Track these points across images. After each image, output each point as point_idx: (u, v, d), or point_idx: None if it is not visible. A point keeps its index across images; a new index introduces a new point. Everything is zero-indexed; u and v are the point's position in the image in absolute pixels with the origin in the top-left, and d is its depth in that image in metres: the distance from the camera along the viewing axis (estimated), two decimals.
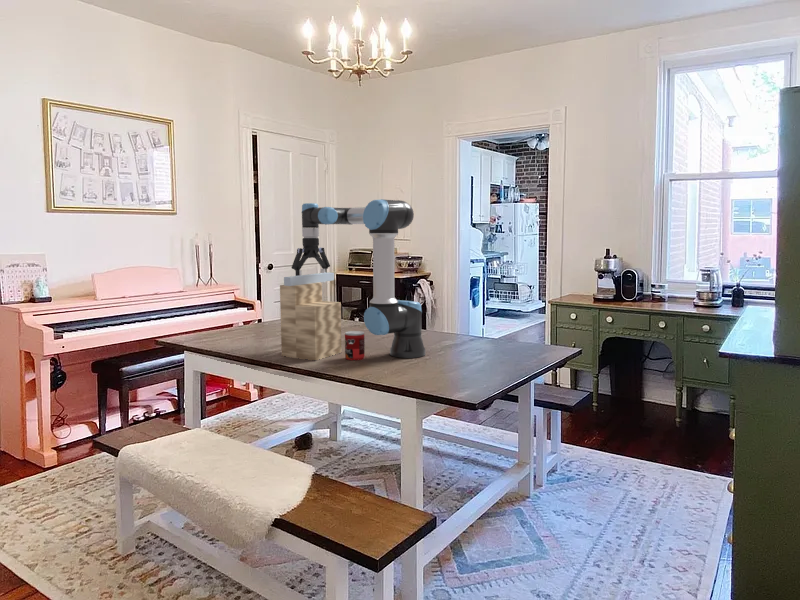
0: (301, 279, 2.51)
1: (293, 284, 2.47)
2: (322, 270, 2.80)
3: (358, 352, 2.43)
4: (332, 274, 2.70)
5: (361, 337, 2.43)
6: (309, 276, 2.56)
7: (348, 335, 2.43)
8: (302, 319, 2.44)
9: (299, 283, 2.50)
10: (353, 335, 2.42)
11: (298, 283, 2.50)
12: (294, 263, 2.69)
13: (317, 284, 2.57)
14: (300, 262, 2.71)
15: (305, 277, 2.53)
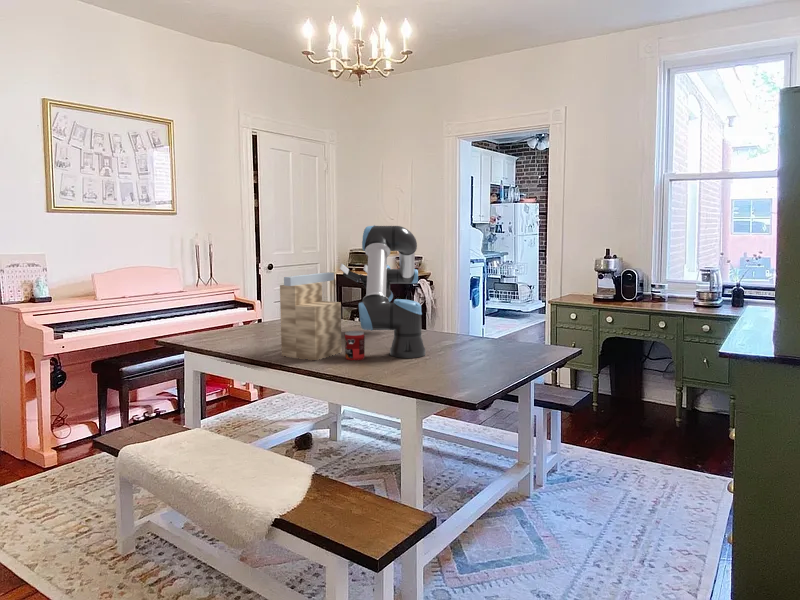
0: (301, 279, 2.51)
1: (293, 284, 2.47)
2: None
3: (358, 352, 2.43)
4: (332, 274, 2.70)
5: (361, 337, 2.43)
6: (309, 276, 2.56)
7: (348, 335, 2.43)
8: (302, 319, 2.44)
9: (299, 283, 2.50)
10: (353, 335, 2.42)
11: (298, 283, 2.50)
12: None
13: (317, 284, 2.57)
14: None
15: (305, 277, 2.53)
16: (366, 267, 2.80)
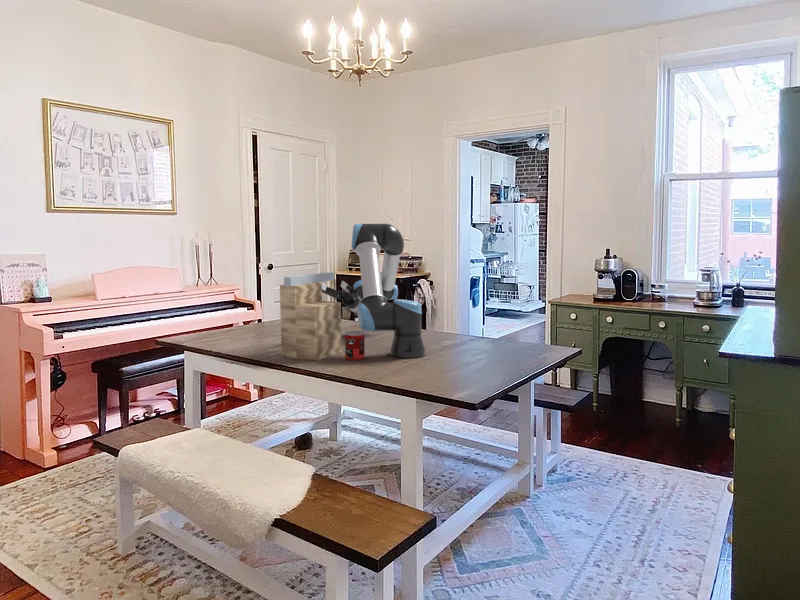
0: (301, 279, 2.51)
1: (293, 284, 2.47)
2: None
3: (358, 352, 2.43)
4: (332, 274, 2.70)
5: (361, 337, 2.43)
6: (309, 276, 2.56)
7: (348, 335, 2.43)
8: (302, 319, 2.44)
9: (299, 283, 2.50)
10: (353, 335, 2.42)
11: (298, 283, 2.50)
12: None
13: (317, 284, 2.57)
14: None
15: (305, 277, 2.53)
16: (343, 284, 2.69)
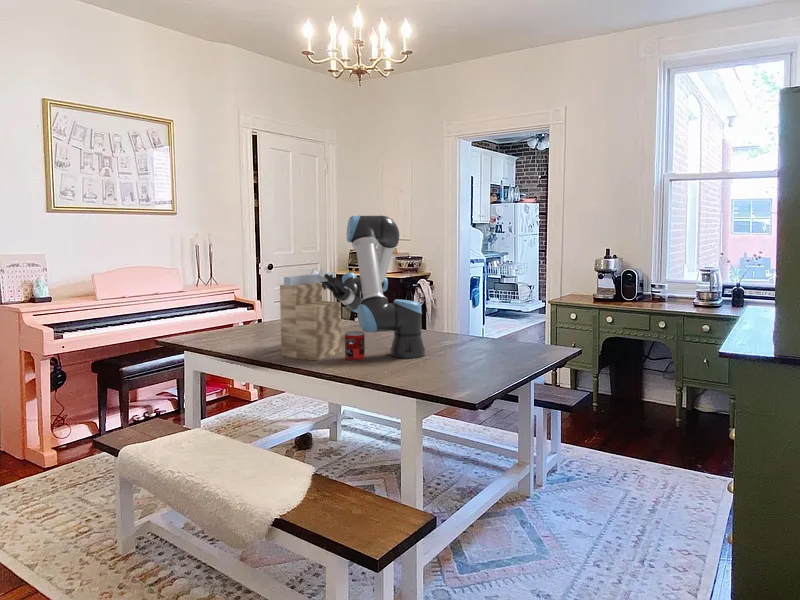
0: (301, 279, 2.51)
1: (293, 284, 2.47)
2: None
3: (358, 352, 2.43)
4: (332, 274, 2.70)
5: (361, 337, 2.43)
6: (309, 276, 2.56)
7: (348, 335, 2.43)
8: (302, 319, 2.44)
9: (299, 283, 2.50)
10: (353, 335, 2.42)
11: (298, 283, 2.50)
12: None
13: (317, 284, 2.57)
14: None
15: (305, 277, 2.53)
16: (322, 272, 2.62)
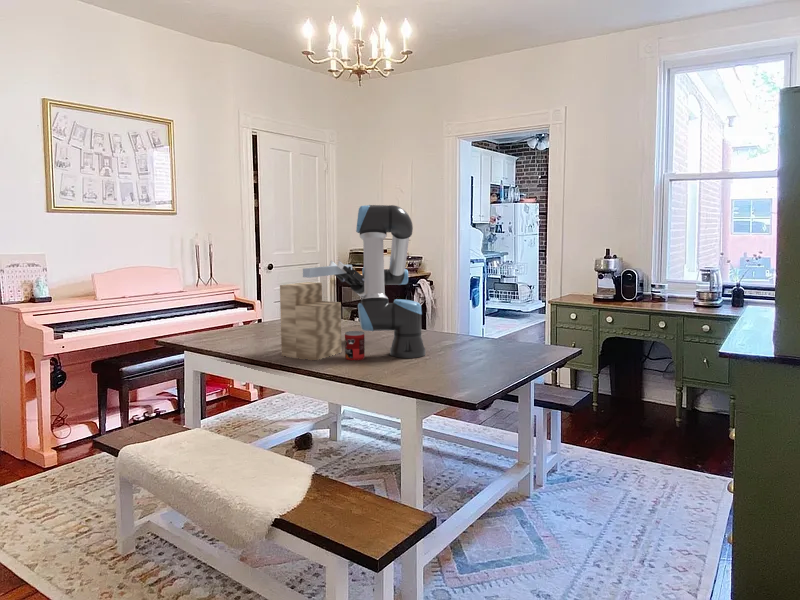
0: (320, 271, 2.46)
1: (312, 276, 2.41)
2: None
3: (358, 352, 2.43)
4: (350, 266, 2.64)
5: (361, 337, 2.43)
6: (328, 268, 2.50)
7: (348, 335, 2.43)
8: (302, 319, 2.44)
9: (318, 275, 2.45)
10: (353, 335, 2.42)
11: (317, 275, 2.44)
12: None
13: (317, 284, 2.57)
14: None
15: (324, 269, 2.48)
16: (340, 264, 2.56)
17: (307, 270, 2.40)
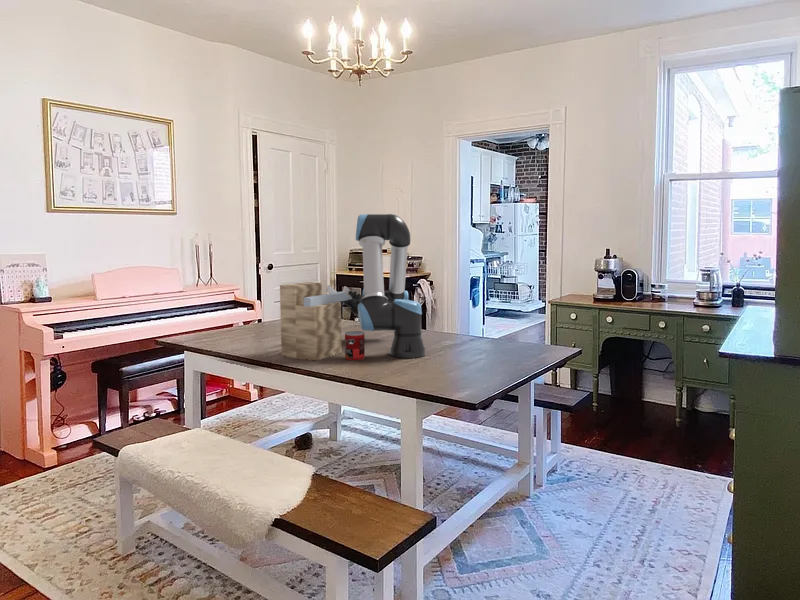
0: (321, 300, 2.47)
1: (313, 305, 2.43)
2: None
3: (358, 352, 2.43)
4: None
5: (361, 337, 2.43)
6: (328, 296, 2.52)
7: (348, 335, 2.43)
8: (302, 319, 2.44)
9: (319, 303, 2.46)
10: (353, 335, 2.42)
11: (318, 303, 2.46)
12: None
13: (317, 284, 2.57)
14: None
15: (324, 297, 2.49)
16: (346, 289, 2.57)
17: (308, 299, 2.42)
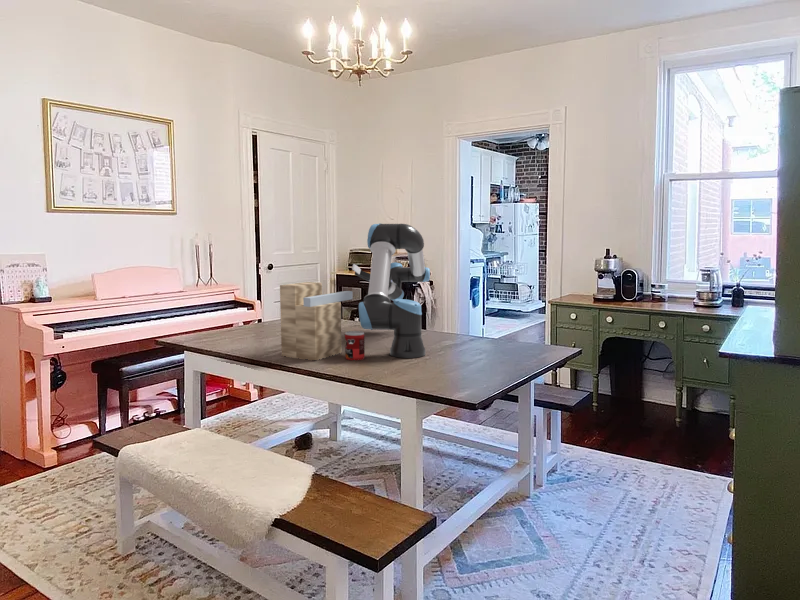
0: (321, 300, 2.47)
1: (313, 305, 2.43)
2: None
3: (358, 352, 2.43)
4: (351, 293, 2.66)
5: (361, 337, 2.43)
6: (328, 296, 2.52)
7: (348, 335, 2.43)
8: (302, 319, 2.44)
9: (319, 303, 2.46)
10: (353, 335, 2.42)
11: (318, 303, 2.46)
12: None
13: (317, 284, 2.57)
14: None
15: (324, 297, 2.49)
16: None
17: (308, 299, 2.42)
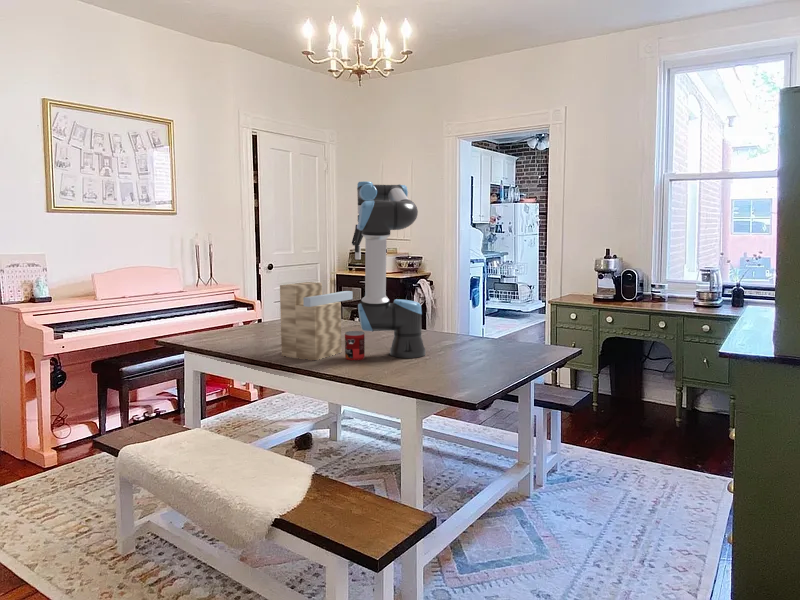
0: (321, 300, 2.47)
1: (313, 305, 2.43)
2: None
3: (358, 352, 2.43)
4: (351, 293, 2.66)
5: (361, 337, 2.43)
6: (328, 296, 2.52)
7: (348, 335, 2.43)
8: (302, 319, 2.44)
9: (319, 303, 2.46)
10: (353, 335, 2.42)
11: (318, 303, 2.46)
12: (354, 238, 2.80)
13: (317, 284, 2.57)
14: None
15: (324, 297, 2.49)
16: None
17: (308, 299, 2.42)
